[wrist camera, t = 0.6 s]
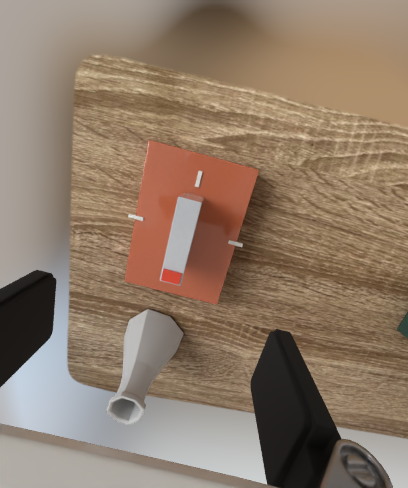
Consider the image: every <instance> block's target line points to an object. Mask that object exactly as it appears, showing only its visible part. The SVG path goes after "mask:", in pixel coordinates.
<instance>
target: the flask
mask: <svg viewBox="0 0 408 488" xmlns="http://www.w3.org/2000/svg"><path fill="white" fill-rule="evenodd" d="M183 334H184V333H183V332H182V331H181V329H180V328H179V327H178V326H177V324H176V323H175V322H174V321H173V319H172V318H171V317H170V316H167V315H164V314H161V313H158V312H155V311H152V310H149V309H147V310H145V311H144V312H142V313H140V314H139V315H137V316H135V317H133V318H132V319H130V320H129V323H128V327H127V330H126V333H125V336H124V361H123V376H122V380H121V384H120V387H119V389H118V392H117V394H116V395H114V396H113V397H112V398H111V399H110V402H109V405H108V408H107V413H108V414H109V415H110V416H111V417H112V418H113V419H114V420H115V421H117V422H120V423H124V424H127V425H131V424H133V423H135V422H137V421H139V420H141V418H142V415H143V412H144V410H145V406H146V405H145V403H144V399H145V396H146V394H147V392H148V390H149V388H150V386H151V384H152V382H153V381H154V379H155V378H156V377H157V376H158V374H159V373H160V372H161V370H162V369H163V368H164V366H165V365H166V364H167V363H168V361H169V360H170V359H171V358H172V357H173V355H174V354H175V353H176V352H177V349H178V347H179V344H180V342H181V339H182V337H183Z"/></svg>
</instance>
